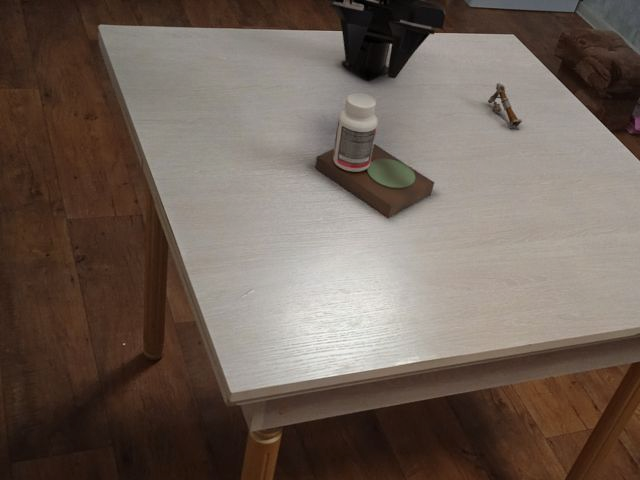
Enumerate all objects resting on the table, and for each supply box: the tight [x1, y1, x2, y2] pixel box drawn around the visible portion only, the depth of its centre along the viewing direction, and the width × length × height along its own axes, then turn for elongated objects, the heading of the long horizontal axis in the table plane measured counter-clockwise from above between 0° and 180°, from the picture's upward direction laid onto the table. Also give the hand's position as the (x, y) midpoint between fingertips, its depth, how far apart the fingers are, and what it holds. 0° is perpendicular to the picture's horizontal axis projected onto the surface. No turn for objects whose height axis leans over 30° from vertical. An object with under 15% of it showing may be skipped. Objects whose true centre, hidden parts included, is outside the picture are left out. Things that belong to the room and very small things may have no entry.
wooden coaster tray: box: [314, 143, 435, 218], centre depth 118 cm, size 10×14×2 cm
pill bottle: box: [333, 92, 379, 172], centre depth 114 cm, size 5×5×10 cm
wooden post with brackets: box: [487, 82, 523, 129], centre depth 140 cm, size 2×8×4 cm, turn 30°
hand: (369, 70), depth 112 cm, fingers open, 9 cm apart
